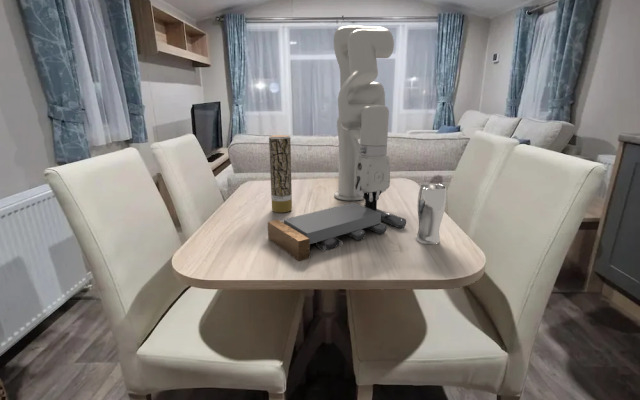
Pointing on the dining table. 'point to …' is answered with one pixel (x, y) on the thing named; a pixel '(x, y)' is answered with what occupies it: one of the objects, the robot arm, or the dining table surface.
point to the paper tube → (280, 173)
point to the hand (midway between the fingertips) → (370, 212)
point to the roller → (330, 243)
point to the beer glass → (430, 212)
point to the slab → (334, 221)
